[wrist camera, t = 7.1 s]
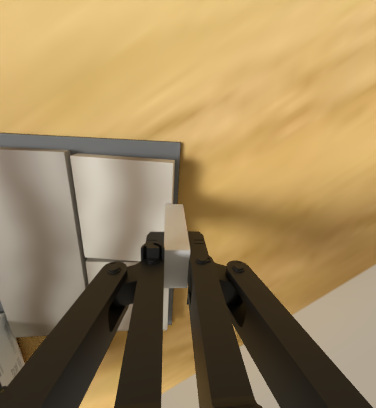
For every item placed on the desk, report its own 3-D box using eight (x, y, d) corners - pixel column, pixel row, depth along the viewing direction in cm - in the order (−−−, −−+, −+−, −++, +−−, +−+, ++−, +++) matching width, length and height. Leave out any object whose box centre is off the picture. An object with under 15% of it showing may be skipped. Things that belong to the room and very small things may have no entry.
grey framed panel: (4, 332, 25) (3, 334, 24) (-73, 129, 16) (-77, 129, 16) (171, 322, 27) (171, 324, 27) (180, 142, 19) (180, 142, 18)
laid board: (20, 327, 24) (13, 337, 23) (-41, 144, 17) (-56, 147, 15) (95, 323, 25) (91, 332, 24) (69, 149, 18) (64, 152, 16)
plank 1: (90, 249, 21) (84, 257, 20) (77, 153, 18) (69, 155, 17) (170, 256, 21) (169, 263, 20) (174, 159, 18) (173, 163, 17)
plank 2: (98, 321, 25) (95, 331, 24) (89, 254, 22) (85, 261, 20) (167, 321, 26) (167, 330, 25) (170, 255, 22) (169, 262, 21)
